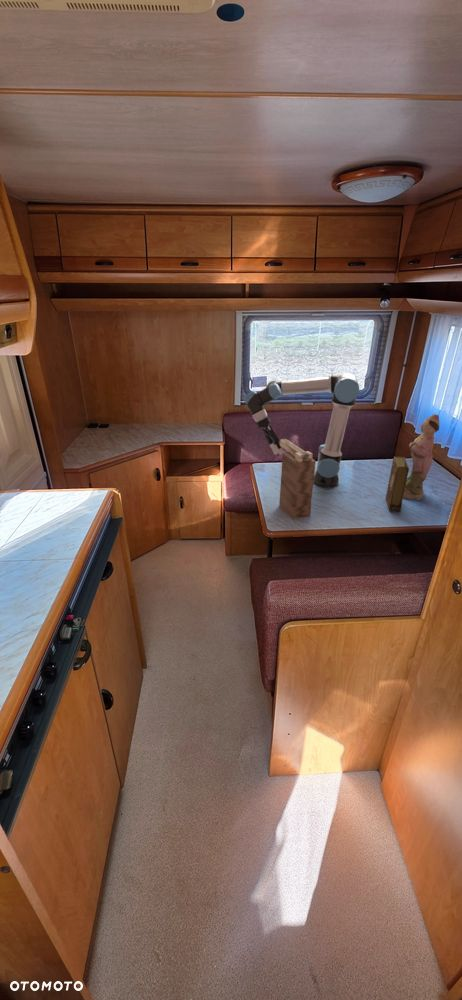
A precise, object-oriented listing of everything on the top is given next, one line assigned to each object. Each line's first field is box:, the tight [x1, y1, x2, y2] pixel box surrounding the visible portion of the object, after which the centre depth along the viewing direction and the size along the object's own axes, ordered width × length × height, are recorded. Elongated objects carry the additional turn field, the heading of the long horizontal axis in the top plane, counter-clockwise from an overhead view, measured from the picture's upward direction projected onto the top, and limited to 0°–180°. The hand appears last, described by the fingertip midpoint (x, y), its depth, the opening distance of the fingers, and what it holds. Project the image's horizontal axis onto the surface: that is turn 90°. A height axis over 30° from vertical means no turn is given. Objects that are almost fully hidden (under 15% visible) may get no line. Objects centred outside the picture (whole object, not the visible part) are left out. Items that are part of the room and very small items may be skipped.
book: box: [385, 455, 410, 513], centre depth 224 cm, size 16×6×25 cm, turn 168°
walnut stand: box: [278, 451, 317, 520], centre depth 216 cm, size 10×15×30 cm, turn 20°
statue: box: [403, 414, 441, 500], centre depth 233 cm, size 16×17×45 cm
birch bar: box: [279, 438, 313, 462], centre depth 213 cm, size 7×24×3 cm, turn 20°
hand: (279, 454), depth 235 cm, fingers open, 13 cm apart
